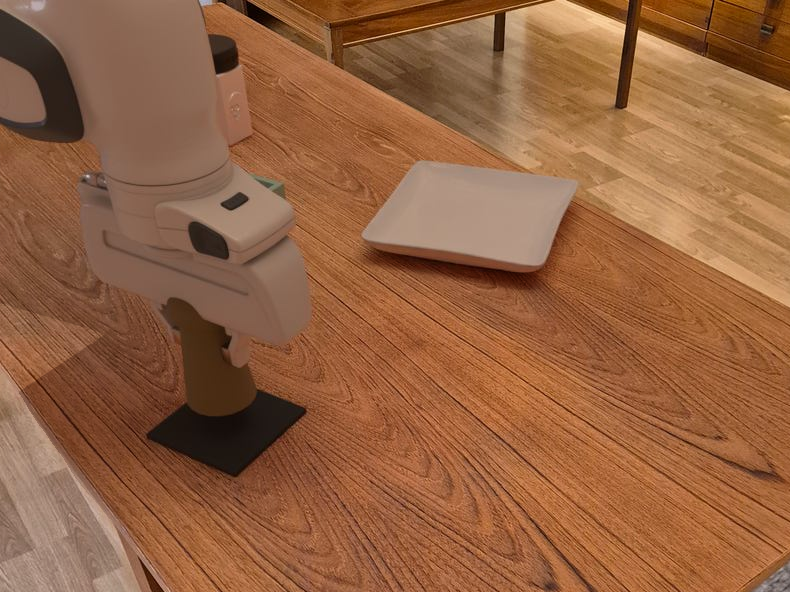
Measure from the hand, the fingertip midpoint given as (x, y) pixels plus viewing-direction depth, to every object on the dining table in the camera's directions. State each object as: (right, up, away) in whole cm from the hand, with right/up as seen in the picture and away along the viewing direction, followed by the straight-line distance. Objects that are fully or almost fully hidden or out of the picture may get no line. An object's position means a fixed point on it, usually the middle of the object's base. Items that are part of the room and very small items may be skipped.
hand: (211, 351), depth 74 cm
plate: (+22, +19, +32) cm, 43 cm away
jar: (-14, +38, +50) cm, 64 cm away
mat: (0, -6, +6) cm, 8 cm away
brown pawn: (0, -3, +3) cm, 5 cm away
